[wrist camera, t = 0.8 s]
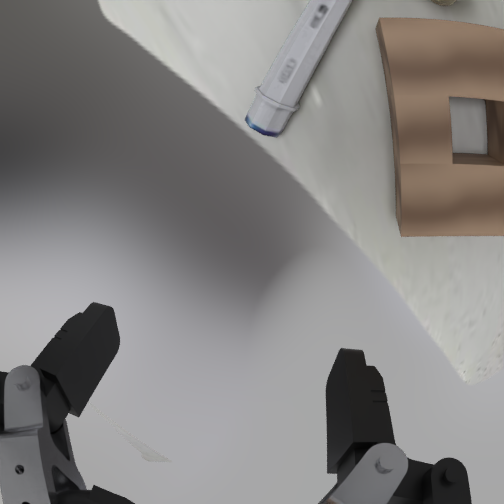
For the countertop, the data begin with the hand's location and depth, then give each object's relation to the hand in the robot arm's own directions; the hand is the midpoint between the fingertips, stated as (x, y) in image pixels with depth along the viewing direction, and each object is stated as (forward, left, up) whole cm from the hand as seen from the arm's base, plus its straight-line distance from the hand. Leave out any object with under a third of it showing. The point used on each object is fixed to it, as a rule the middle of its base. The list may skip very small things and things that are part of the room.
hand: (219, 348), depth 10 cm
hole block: (-4, +16, -26) cm, 30 cm away
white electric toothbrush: (-15, +3, -26) cm, 30 cm away
